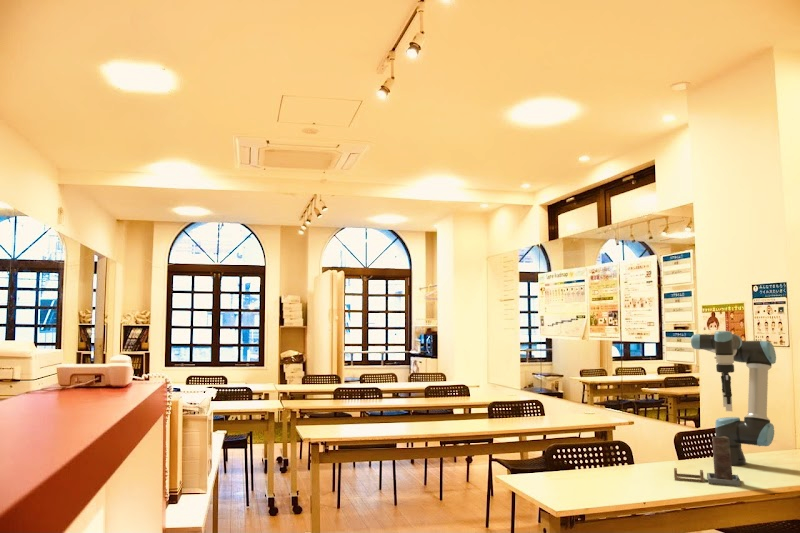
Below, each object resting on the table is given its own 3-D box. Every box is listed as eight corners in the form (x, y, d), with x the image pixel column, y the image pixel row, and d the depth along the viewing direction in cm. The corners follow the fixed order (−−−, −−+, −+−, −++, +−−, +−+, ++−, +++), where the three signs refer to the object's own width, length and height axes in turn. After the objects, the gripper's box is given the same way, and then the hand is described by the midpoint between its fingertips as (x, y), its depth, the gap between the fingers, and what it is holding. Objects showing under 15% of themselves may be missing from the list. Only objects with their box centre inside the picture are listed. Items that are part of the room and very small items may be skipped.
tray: (706, 477, 303) (706, 472, 303) (737, 480, 298) (737, 474, 298) (708, 484, 291) (708, 478, 291) (740, 486, 286) (740, 481, 286)
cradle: (674, 475, 308) (673, 466, 308) (702, 477, 303) (702, 468, 303) (674, 480, 298) (674, 471, 299) (704, 482, 293) (703, 473, 294)
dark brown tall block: (713, 481, 293) (711, 436, 294) (714, 478, 299) (712, 434, 301) (732, 483, 289) (730, 438, 291) (732, 479, 296) (730, 435, 297)
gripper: (714, 361, 318) (717, 404, 316) (718, 366, 295) (721, 412, 293) (731, 361, 315) (734, 405, 313) (736, 366, 292) (739, 413, 290)
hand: (727, 409), depth 303 cm, fingers open, 13 cm apart
